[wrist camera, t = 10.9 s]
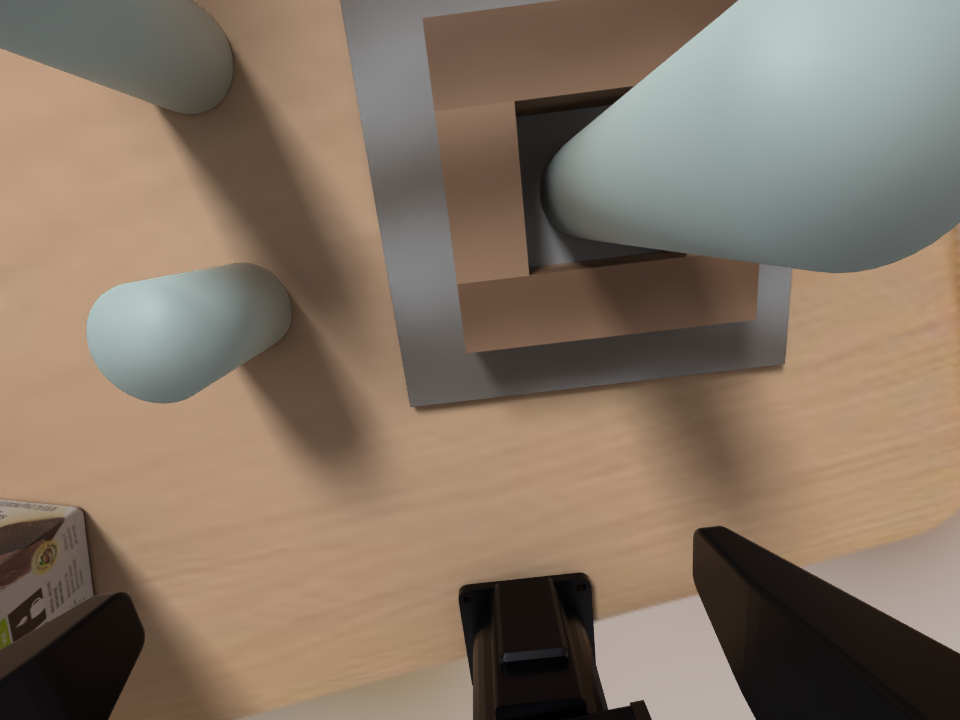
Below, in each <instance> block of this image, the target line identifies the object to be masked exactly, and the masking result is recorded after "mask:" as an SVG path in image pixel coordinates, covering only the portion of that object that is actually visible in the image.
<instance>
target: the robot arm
mask: <svg viewBox="0 0 960 720" xmlns="http://www.w3.org/2000/svg"><path fill="white" fill-rule="evenodd" d="M693 578H694V583H695V586H696V589H697V591H698V593H699V596H700V598H701V600H702V602H703V605H704V607H705V610H706V612H707V614H708V616H709V619H710V621H711V623H712V626H713V628H714V630H715V633H716V635H717V637H718V639H719V642H720V644H721V647H722V649H723V651H724V653H725V656H726V658H727V660H728V663H729V665H730V667H731V670H732V672H733V674H734V676H735V679H736V681H737V683H738V685H739V687H740V690H741V692H742V694H743V696H744V698H745V700H746V701H747V703H748V705H749V707H750V709H751V711H752V713H753V714H754V717H755V718H756V720H960V654H959V653H958V652H956V651H954V650H952V649H950V648H948V647H946V646H945V645H943V644H941V643H939V642H937V641H935V640H933V639H932V638H930V637H928V636H926V635H924V634H922V633H921V632H919V631H917V630H915V629H913V628H911V627H909V626H908V625H906V624H904V623H902V622H900V621H898V620H896V619H895V618H892V617H891V616H889V615H887V614H885V613H883V612H881V611H879V610H877V609H876V608H874V607H872V606H870V605H869V604H867V603H865V602H863V601H861V600H859V599H857V598H856V597H853V596H852V595H850V594H848V593H846V592H844V591H843V590H841V589H839V588H837V587H835V586H833V585H831V584H829V583H828V582H826V581H824V580H822V579H820V578H818V577H817V576H815V575H813V574H811V573H809V572H807V571H805V570H804V569H802V568H800V567H798V566H796V565H794V564H792V563H791V562H789V561H787V560H785V559H783V558H781V557H779V556H778V555H776V554H774V553H772V552H770V551H768V550H766V549H765V548H763V547H761V546H759V545H757V544H755V543H753V542H752V541H750V540H748V539H746V538H744V537H742V536H740V535H739V534H737V533H735V532H733V531H731V530H729V529H727V528H725V527H722V526H714V527H705V528H698V529H697V530H696V531H695V532H694V536H693ZM578 583H583V584H582V585H577V584H578ZM466 595H472V596H471V597H466ZM459 606H460V612H461V618H462V625H463V631H464V637H465V643H466V649H467V656H468V662H469V668H470V674H471V680H472V685H473V720H652V719H651V717H650V714H649V712H648V710H647V707H646V705H645V702H644V700H641V701H636V702H631V703H630V706H626V707H621V708H616V709H611V710H608V708H607V704H606V700H605V696H604V693H603V689H602V685H601V682H600V678H599V674H598V671H597V667H596V660H595V643H594V626H593V609H592V592H591V584H590V581H589V578H588V576H587V575H586V574H584V573H571V574H562V575H552V576H543V577H534V578H524V579H515V580H506V581H496V582H487V583H477V584H468V585H464V586H463V587H461V588H460V590H459ZM144 641H145V630H144V627H143V625H142V622H141V620H140V618H139V615H138V613H137V610H136V608H135V606H134V603H133V601H132V598H131V597H130V595H128V594H127V593H126V592H121V591H119V592H110V593H102V594H97V595H95V596H93V597H91V598H89V599H87V600H85V601H84V602H82V603H80V604H78V605H77V606H75V607H73V608H72V609H70V610H68V611H66V612H65V613H63V614H61V615H59V616H58V617H56V618H54V619H53V620H51V621H49V622H47V623H46V624H44V625H42V626H40V627H39V628H37V629H35V630H34V631H32V632H30V633H28V634H27V635H25V636H23V637H21V638H20V639H18V640H16V641H15V642H13V643H11V644H9V645H8V646H6V647H4V648H2V649H1V650H0V720H108V719H109V717H110V715H111V713H112V711H113V709H114V706H115V704H116V702H117V700H118V698H119V696H120V694H121V692H122V690H123V688H124V686H125V684H126V682H127V679H128V677H129V675H130V673H131V671H132V669H133V667H134V665H135V663H136V661H137V659H138V657H139V655H140V652H141V650H142V648H143V645H144Z"/></svg>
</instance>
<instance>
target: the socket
mask: <svg viewBox="0 0 960 720" xmlns="http://www.w3.org/2000/svg"><path fill="white" fill-rule="evenodd" d="M737 1H738V0H340V2H341V8H342V14H343V19H344V25H345V31H346V37H347V43H348V48H349V54H350V60H351V66H352V71H353V77H354V83H355V89H356V95H357V100H358V106H359V112H360V118H361V124H362V129H363V135H364V141H365V147H366V152H367V158H368V164H369V170H370V176H371V181H372V187H373V193H374V199H375V205H376V210H377V216H378V222H379V228H380V233H381V239H382V245H383V251H384V257H385V262H386V268H387V274H388V280H389V286H390V291H391V297H392V303H393V309H394V314H395V320H396V326H397V332H398V338H399V343H400V349H401V355H402V361H403V367H404V372H405V378H406V384H407V390H408V396H409V401H410V407H416V406H425V405H433V404H442V403H451V402H460V401H468V400H477V399H486V398H494V397H503V396H512V395H521V394H529V393H538V392H547V391H556V390H564V389H573V388H582V387H590V386H599V385H608V384H617V383H625V382H634V381H643V380H652V379H660V378H669V377H678V376H686V375H695V374H704V373H713V372H721V371H730V370H739V369H748V368H756V367H765V366H774V365H782V364H785V354H786V341H787V328H788V315H789V301H790V288H791V275H792V268H788V267H781V266H774V265H767V264H760V263H752V262H745V261H738V260H731V259H724V258H716V257H709V256H702V255H695V254H688V253H680V252H673V251H666V250H659V249H652V248H644V247H637V246H630V245H623V244H616V243H608V242H601V241H594V240H587V239H579V238H574V237H570V236H568V235H565V234H564V233H562V232H560V231H559V230H557V229H556V228H555V227H554V226H553V225H552V224H551V223H550V222H549V220H548V219H547V217H546V215H545V214H544V211H543V209H542V206H541V202H540V190H539V188H540V181H541V176H542V173H543V171H544V168H545V166H546V164H547V162H548V161H549V160H550V158H551V157H552V156H553V154H554V153H555V152H556V151H557V150H558V149H560V148H561V147H562V146H563V145H564V144H566V143H567V142H568V141H569V140H570V139H572V138H573V137H574V136H575V135H576V134H578V133H579V132H580V131H581V130H582V129H584V128H585V127H586V126H587V125H589V124H590V123H591V122H592V121H593V120H595V119H596V118H597V117H598V116H599V115H601V114H602V113H603V112H604V111H605V110H607V109H608V108H609V107H610V106H611V105H613V104H614V103H615V102H616V101H617V100H619V99H620V98H621V97H622V96H624V95H625V94H626V93H627V92H628V91H630V90H631V89H632V88H633V87H634V86H636V85H637V84H638V83H639V82H640V81H642V80H643V79H644V78H645V77H646V76H648V75H649V74H650V73H651V72H652V71H654V70H655V69H656V68H657V67H658V66H660V65H661V64H662V63H663V62H665V61H666V60H667V59H668V58H669V57H671V56H672V55H673V54H674V53H675V52H677V51H678V50H679V49H680V48H681V47H683V46H684V45H685V44H686V43H687V42H689V41H690V40H691V39H692V38H693V37H695V36H696V35H697V34H698V33H700V32H701V31H702V30H703V29H704V28H706V27H707V26H708V25H709V24H710V23H712V22H713V21H714V20H715V19H716V18H718V17H719V16H720V15H721V14H722V13H724V12H725V11H726V10H727V9H728V8H730V7H731V6H732V5H733V4H734V3H736V2H737Z"/></svg>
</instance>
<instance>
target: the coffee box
mask: <svg viewBox="0 0 960 720" xmlns="http://www.w3.org/2000/svg"><path fill="white" fill-rule="evenodd" d="M93 596H94V595H93V587H92V580H91V570H90V563H89V554H88V546H87V538H86V530H85V522H84V515H83V511H82V510H81V509H79V508H77V507H73V506H64V505H54V504H43V503H33V502H23V501H14V500H4V499H0V650H1V649H2V648H4V647H6V646H8V645H9V644H11V643H13V642H15V641H16V640H18V639H20V638H21V637H23V636H25V635H27V634H28V633H30V632H32V631H34V630H35V629H37V628H39V627H40V626H42V625H44V624H46V623H47V622H49V621H51V620H53V619H54V618H56V617H58V616H59V615H61V614H63V613H65V612H66V611H68V610H70V609H72V608H73V607H75V606H77V605H78V604H80V603H82V602H84V601H85V600H87V599H89V598H91V597H93Z"/></svg>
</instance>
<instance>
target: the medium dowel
mask: <svg viewBox="0 0 960 720" xmlns="http://www.w3.org/2000/svg"><path fill="white" fill-rule="evenodd" d="M0 48H1V49H4V50H7V51H9V52H12V53H15V54H18V55H20V56H23V57H26V58H29V59H31V60H34V61H37V62H40V63H42V64H45V65H48V66H51V67H53V68H56V69H59V70H62V71H64V72H67V73H70V74H73V75H75V76H78V77H81V78H84V79H86V80H89V81H92V82H95V83H97V84H100V85H103V86H106V87H108V88H111V89H114V90H117V91H119V92H122V93H125V94H128V95H130V96H133V97H136V98H139V99H142V100H144V101H147V102H150V103H153V104H155V105H158V106H161V107H164V108H166V109H169V110H172V111H175V112H177V113H182V114H200V113H204V112H206V111H209V110H211V109H212V108H214V107H215V106H217V105H218V104H219V103H220V102H221V101H222V100H223V99H224V97H225V96H226V94H227V92H228V90H229V88H230V85H231V82H232V77H233V57H232V51H231V48H230V44H229V42H228V40H227V37H226V35H225V33H224V32H223V30H222V28H221V27H220V25H219V24H218V23H217V22H216V20H215V19H214V18H213V17H212V16H211V15H210V14H209V13H208V12H206V11H205V10H204V9H203V8H201V7H200V6H199V5H198V4H196V3H195V2H194V1H192V0H0Z"/></svg>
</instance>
